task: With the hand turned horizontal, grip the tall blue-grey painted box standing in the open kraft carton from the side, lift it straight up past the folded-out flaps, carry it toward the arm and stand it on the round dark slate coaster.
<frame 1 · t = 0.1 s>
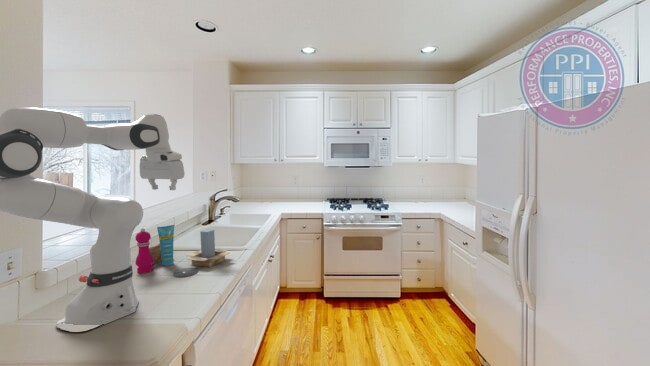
hand: (163, 189, 125), 39 cm above the worktop, tool pointing down, fingers open, 8 cm apart
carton: (208, 262, 153), on the worktop
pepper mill: (145, 271, 143), on the worktop
coaster: (185, 272, 139), on the worktop
tin: (157, 261, 156), on the worktop
box: (208, 246, 153), in the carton
tube: (167, 264, 151), on the worktop
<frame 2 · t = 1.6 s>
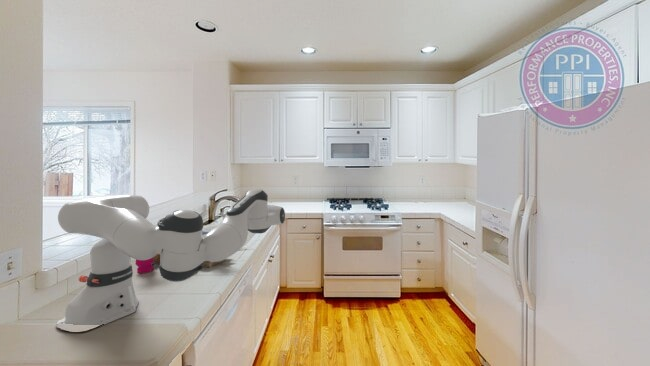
hand: (228, 212, 146), 26 cm above the worktop, tool horizontal, fingers open, 8 cm apart
nothing on the worktop moved.
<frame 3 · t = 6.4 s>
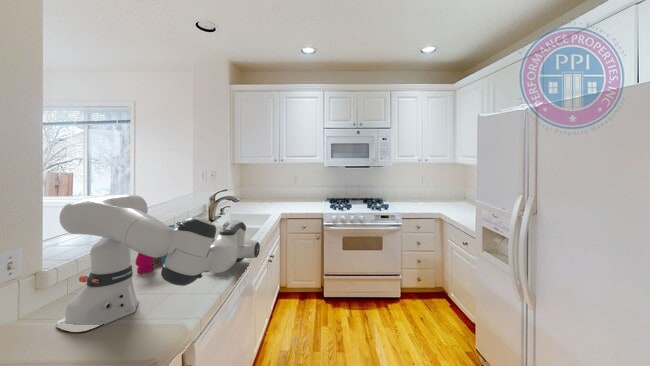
hand: (206, 244, 153), 9 cm above the worktop, tool horizontal, fingers closed on box, 4 cm apart
box: (208, 246, 153), in the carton, touching gripper
everything else where it was.
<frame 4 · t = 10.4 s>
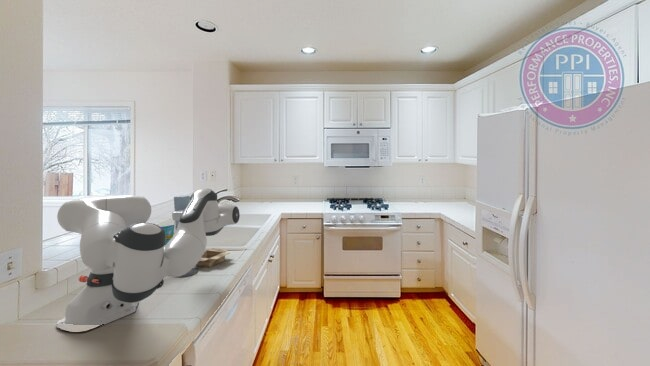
hand: (181, 211, 138), 28 cm above the worktop, tool horizontal, fingers closed on box, 4 cm apart
box: (182, 214, 138), point 27 cm above the worktop, touching gripper
everything else where it was.
when the fingers open (11 cm above the worktop, at t = 14.2 s): box drops 1 cm, resting on coaster.
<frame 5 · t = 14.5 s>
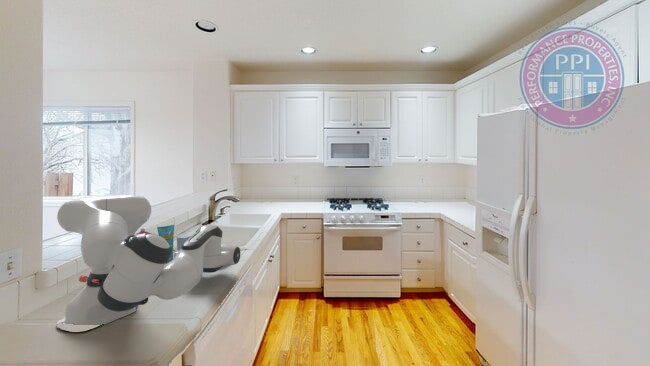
hand: (182, 248, 139), 11 cm above the worktop, tool horizontal, fingers open, 7 cm apart
box: (185, 254, 139), on the coaster, point 9 cm above the worktop
everything else where it was.
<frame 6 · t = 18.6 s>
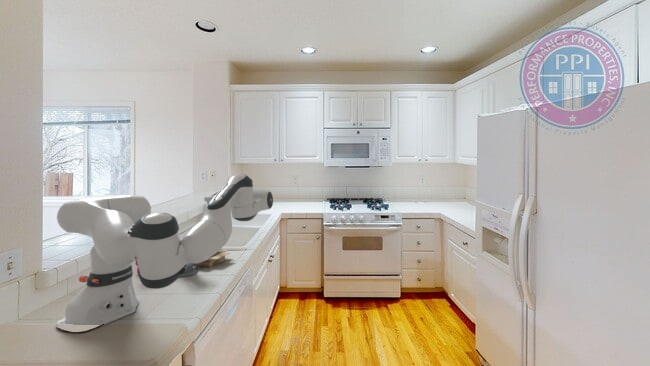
hand: (213, 197, 138), 34 cm above the worktop, tool horizontal, fingers open, 8 cm apart
nothing on the worktop moved.
at the end: box inside the target area on the coaster (0.1 cm from its centre), point 8.6 cm above the coaster's base; box tilted 0°; the gripper is holding nothing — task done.
